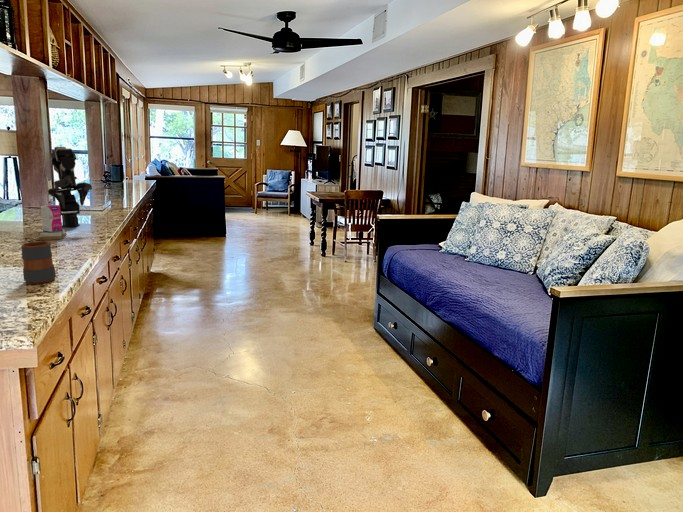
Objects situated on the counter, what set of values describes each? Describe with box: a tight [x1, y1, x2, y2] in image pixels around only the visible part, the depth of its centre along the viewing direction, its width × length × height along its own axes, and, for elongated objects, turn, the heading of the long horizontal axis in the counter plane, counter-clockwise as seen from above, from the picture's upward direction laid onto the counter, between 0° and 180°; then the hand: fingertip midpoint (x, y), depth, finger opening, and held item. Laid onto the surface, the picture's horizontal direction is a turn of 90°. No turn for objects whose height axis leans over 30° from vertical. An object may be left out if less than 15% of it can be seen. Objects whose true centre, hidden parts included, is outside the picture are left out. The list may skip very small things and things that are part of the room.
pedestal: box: [38, 229, 68, 241], centre depth 231 cm, size 9×9×3 cm
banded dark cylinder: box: [20, 241, 57, 285], centre depth 162 cm, size 9×12×12 cm
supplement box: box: [40, 204, 63, 233], centre depth 230 cm, size 6×6×12 cm
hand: (72, 207), depth 246 cm, fingers open, 9 cm apart
